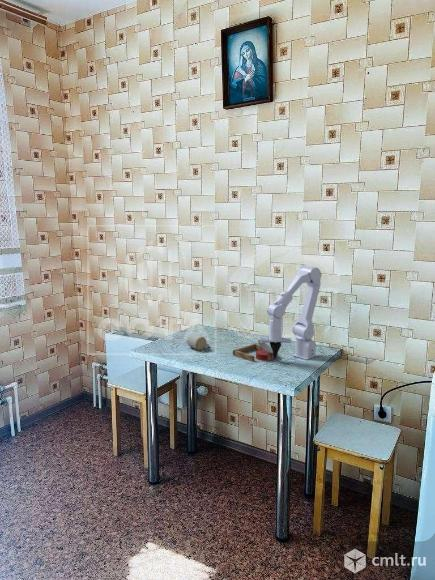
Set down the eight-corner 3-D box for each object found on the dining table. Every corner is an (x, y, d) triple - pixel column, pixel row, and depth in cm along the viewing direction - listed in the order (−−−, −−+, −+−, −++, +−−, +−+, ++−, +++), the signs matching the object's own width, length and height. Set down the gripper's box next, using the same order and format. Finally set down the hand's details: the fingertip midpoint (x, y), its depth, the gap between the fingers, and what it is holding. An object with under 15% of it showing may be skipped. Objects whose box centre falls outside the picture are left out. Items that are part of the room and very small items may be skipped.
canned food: (263, 362, 219) (269, 343, 221) (277, 366, 211) (283, 346, 213) (247, 356, 213) (253, 337, 215) (262, 359, 205) (268, 339, 207)
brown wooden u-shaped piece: (274, 353, 219) (275, 349, 218) (252, 361, 208) (252, 356, 207) (255, 348, 228) (255, 343, 228) (232, 355, 217) (232, 350, 217)
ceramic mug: (196, 351, 222) (196, 337, 221) (186, 348, 229) (186, 333, 227) (212, 348, 229) (212, 333, 228) (202, 344, 235) (202, 330, 234)
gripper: (289, 327, 209) (289, 354, 211) (259, 327, 209) (259, 354, 212) (292, 331, 202) (291, 359, 205) (260, 331, 203) (260, 359, 205)
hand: (275, 357), depth 208 cm, fingers closed
